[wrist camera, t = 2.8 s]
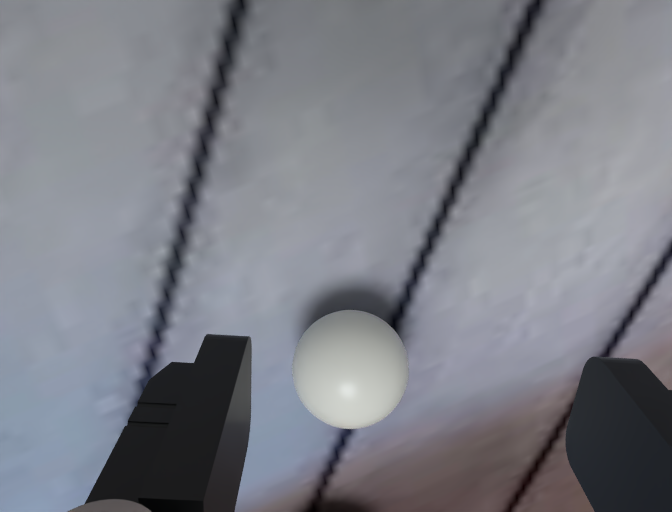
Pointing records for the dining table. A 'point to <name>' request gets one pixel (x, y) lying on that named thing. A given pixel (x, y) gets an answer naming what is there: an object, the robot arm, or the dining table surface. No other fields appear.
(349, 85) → the dining table surface
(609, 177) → the dining table surface
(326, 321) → the cue ball
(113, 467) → the robot arm
